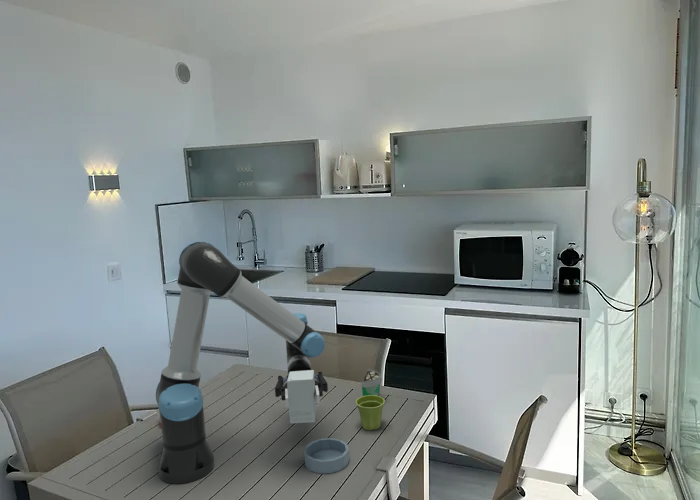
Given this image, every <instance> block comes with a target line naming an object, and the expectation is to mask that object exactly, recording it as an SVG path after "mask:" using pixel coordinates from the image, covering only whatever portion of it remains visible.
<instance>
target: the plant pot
mask: <svg viewBox="0 0 700 500" xmlns="http://www.w3.org/2000/svg"><path fill="white" fill-rule="evenodd" d="M385 401H386V400H385V398H383V397H381V396H380V395H379V396H375V395H367V396H363V395H362V396H360V397H357V398H356V400H355V405H356V406H357V409H358V413H359V417H360V423H361V426H362V428H363V429H364V430H366V431H372V430H378V429H379V428H380V427H381V424H382V414H383V408H384V405H385V403H386V402H385Z"/></svg>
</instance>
